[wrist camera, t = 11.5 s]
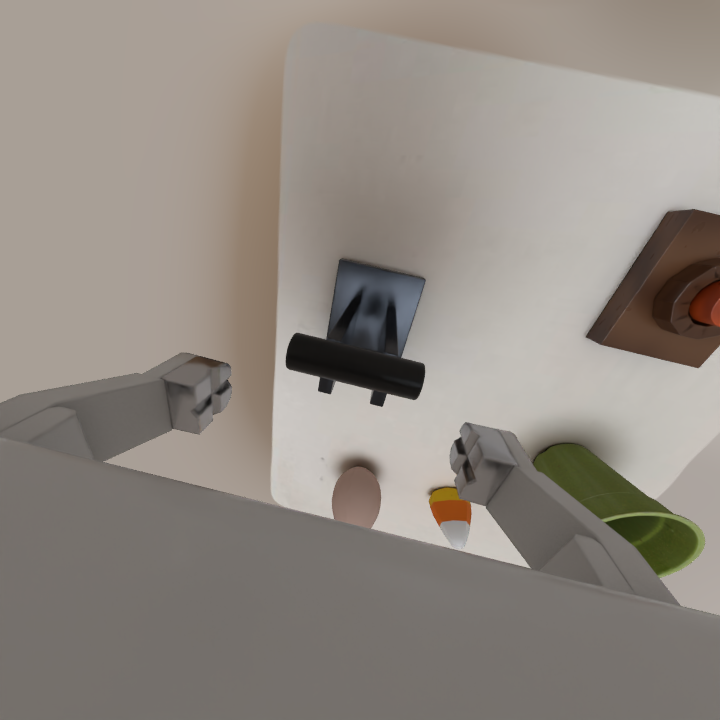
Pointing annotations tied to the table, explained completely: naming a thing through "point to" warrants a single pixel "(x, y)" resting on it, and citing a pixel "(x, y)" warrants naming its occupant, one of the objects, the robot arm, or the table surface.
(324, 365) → the lever
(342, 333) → the bracket
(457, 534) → the candy corn
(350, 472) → the egg
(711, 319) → the button
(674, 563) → the plant pot
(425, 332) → the table surface
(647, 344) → the button block
